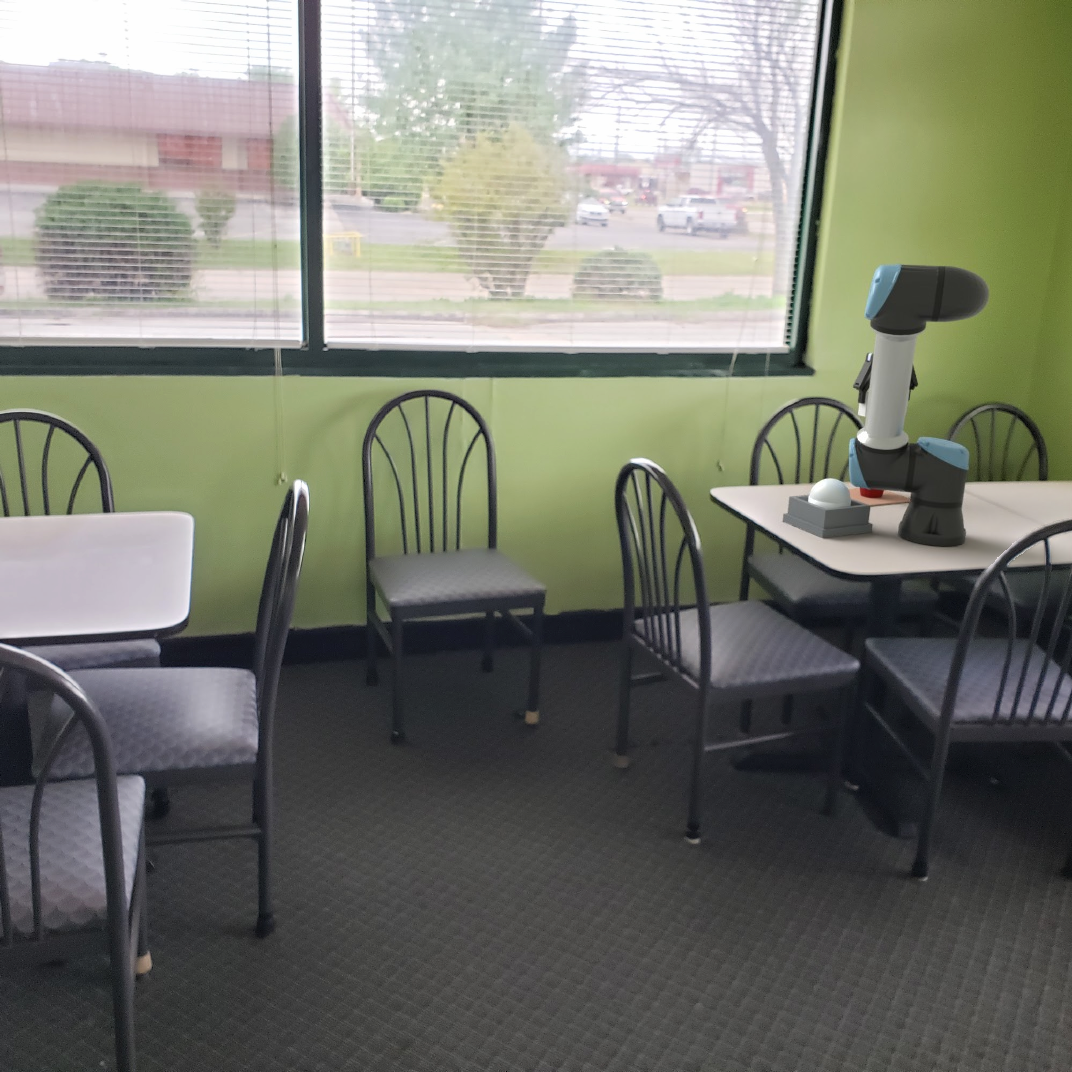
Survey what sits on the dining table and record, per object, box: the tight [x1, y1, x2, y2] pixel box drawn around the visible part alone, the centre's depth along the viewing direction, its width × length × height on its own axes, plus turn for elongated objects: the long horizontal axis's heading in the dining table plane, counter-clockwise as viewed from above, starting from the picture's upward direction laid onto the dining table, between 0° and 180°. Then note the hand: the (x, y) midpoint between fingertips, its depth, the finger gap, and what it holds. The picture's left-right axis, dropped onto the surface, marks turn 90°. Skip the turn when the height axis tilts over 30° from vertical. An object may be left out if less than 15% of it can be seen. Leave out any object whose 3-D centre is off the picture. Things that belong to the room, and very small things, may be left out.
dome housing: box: [782, 494, 873, 539], centre depth 250 cm, size 15×15×6 cm
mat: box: [848, 487, 910, 507], centre depth 281 cm, size 16×16×1 cm
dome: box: [808, 478, 851, 509], centre depth 249 cm, size 10×10×10 cm
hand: (882, 414), depth 274 cm, fingers open, 13 cm apart
